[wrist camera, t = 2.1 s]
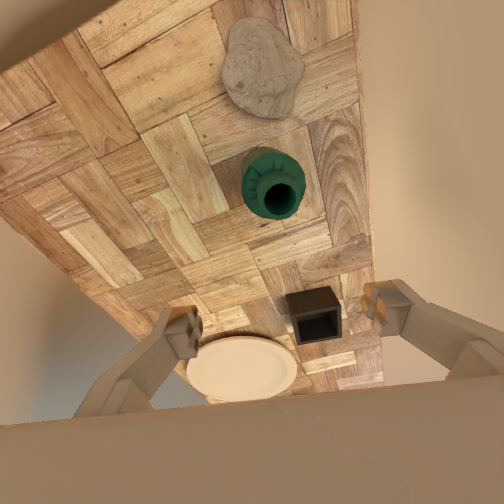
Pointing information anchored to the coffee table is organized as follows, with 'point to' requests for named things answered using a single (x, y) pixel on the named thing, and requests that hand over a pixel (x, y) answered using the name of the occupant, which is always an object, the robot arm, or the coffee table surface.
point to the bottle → (272, 183)
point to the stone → (261, 69)
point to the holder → (315, 315)
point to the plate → (242, 369)
